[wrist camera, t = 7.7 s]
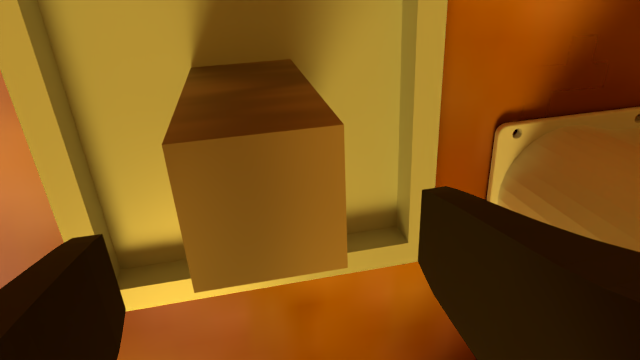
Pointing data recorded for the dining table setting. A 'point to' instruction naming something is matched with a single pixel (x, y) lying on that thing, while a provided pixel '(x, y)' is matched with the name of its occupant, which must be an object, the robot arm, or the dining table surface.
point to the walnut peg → (256, 175)
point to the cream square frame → (164, 92)
